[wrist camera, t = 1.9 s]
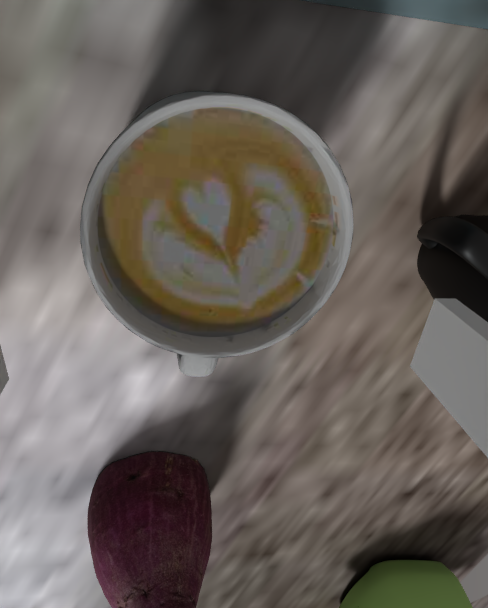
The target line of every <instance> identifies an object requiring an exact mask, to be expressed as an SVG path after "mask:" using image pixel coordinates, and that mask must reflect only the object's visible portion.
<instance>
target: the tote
mask: <svg viewBox="0 0 488 608" xmlns="http://www.w3.org/2000/svg"><path fill="white" fill-rule="evenodd" d="M301 1H308V2H314V3H321V4H327V5H334V6H340V7H347V8H353V9H360V10H366V11H373V12H379V13H386V14H392V15H399V16H405V17H412V18H418V19H425V20H431V21H438V22H444V23H451V24H457V25H464V26H470V27H477V28H483V29H488V0H301Z"/></svg>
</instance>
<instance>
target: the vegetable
mask: <svg viewBox="0 0 488 608" xmlns="http://www.w3.org/2000/svg"><path fill="white" fill-rule="evenodd" d="M211 516H212V513H211V499H210V490H209V485H208V480H207V476H206V473H205V471H204V468H203V467H202V466H201V465H200V463H199V462H198V460H196V459H192V457H188V456H185V455H181V454H174V453H168V452H160V451H159V452H154V451H151V452H146V453H142V454H138V455H134V456H130V457H128V458H125V459H121V460H119V461H116V462H113V463H112V464H110V465H109V466H107V467H106V468H105V469H104V470H103V471H102V473H101V474H100V475H99V477H98V479H97V480H96V482H95V485H94V487H93V490H92V494H91V497H90V502H89V508H88V538H89V542H90V547H91V555H92V558H93V564H94V569H95V573H96V576H97V579H98V581H99V583H100V586H101V588H102V590H103V593H104V595H105V597H106V599H107V600H108V602H109V604H110V605H111V607H112V608H196V605H197V601H198V597H199V593H200V589H201V586H202V581H203V578H204V574H205V570H206V567H207V564H208V560H209V556H210V549H211V542H212V519H211Z"/></svg>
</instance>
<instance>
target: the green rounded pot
mask: <svg viewBox="0 0 488 608" xmlns="http://www.w3.org/2000/svg"><path fill="white" fill-rule="evenodd" d="M339 608H472V605H471V603H470V601H469V599H468V597H467V595H466V593H465V591H464V589H463V587H462V586H461V584H460V582H459V580H458V579H457V578H456V576H455V575H454V574H453V573H452V572H451V571H450V570H449V569H448V568H447V567H446V566H445V565H444V564H442V563H441V562H438V561H427V560H388V561H383V562H381V563H377V564H375V565H373V566H372V567H371V568H370V569H369V571H368V572H367V573H366V574H365V575H364V576H363V577H362V578H361V579H360V580H359V581H358V582H357V583H356V584H355V585H354V586H353V587H352V588H351V590H350V591H349V592H348V594H347V595H346V597H345V598H344V600H343V601H342V603H341V605H340V607H339Z"/></svg>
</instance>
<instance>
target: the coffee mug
mask: <svg viewBox="0 0 488 608" xmlns="http://www.w3.org/2000/svg"><path fill="white" fill-rule="evenodd" d="M352 238H353V209H352V200H351V196H350V192H349V187H348V184H347V181H346V179H345V176H344V174H343V171H342V169H341V166H340V164H339V163H338V161H337V160H336V158H335V157H334V155H333V153H332V152H331V150H330V148H329V147H328V145H327V144H326V143H325V142H324V141H323V140H322V139H321V137H320V136H319V135H318V134H317V133H316V132H315V131H314V130H313V129H312V128H311V127H310V126H308V125H307V124H306V123H305V122H304V121H302V120H301V119H299V118H298V117H296V116H295V115H293V114H292V113H290V112H289V111H287V110H285V109H283V108H281V107H279V106H277V105H275V104H272V103H270V102H267V101H264V100H261V99H258V98H254V97H250V96H246V95H241V94H232V93H220V92H204V91H193V92H184V93H179V94H175V95H172V96H169V97H167V98H164V99H162V100H160V101H158V102H156V103H154V104H153V105H151V106H150V107H148V108H147V109H146V110H145V111H143V112H142V113H141V114H140V115H139V116H138V117H137V118H136V119H135V120H134V121H133V122H132V123H131V124H130V125H129V126H128V127H127V128H126V129H125V130H124V131H123V132H122V133H121V134H120V135H119V136H118V137H117V138H116V139H115V140H114V141H113V143H112V144H111V145H110V146H109V148H108V149H107V150H106V152H105V153H104V155H103V156H102V158H101V159H100V161H99V162H98V164H97V166H96V168H95V170H94V172H93V175H92V177H91V179H90V181H89V184H88V187H87V190H86V194H85V198H84V201H83V205H82V212H81V224H80V239H81V247H82V253H83V258H84V264H85V266H86V269H87V272H88V275H89V277H90V279H91V282H92V284H93V286H94V288H95V290H96V292H97V294H98V295H99V297H100V298H101V300H102V301H103V303H104V304H105V306H106V307H107V309H108V310H109V311H110V312H111V313H112V314H113V315H114V316H115V317H116V318H117V320H119V321H120V322H121V323H122V324H123V325H124V326H125V327H126V328H127V329H128V330H130V331H131V332H133V333H134V334H136V335H137V336H139V337H140V338H142V339H143V340H145V341H146V342H148V343H150V344H153V345H155V346H157V347H159V348H162V349H165V350H168V351H171V352H174V353H177V358H178V365H179V369H180V371H181V372H182V373H183V374H185V375H188V376H194V377H204V376H208V375H209V374H211V373H212V372H213V371H214V369H215V367H216V364H217V361H218V358H224V357H233V356H239V355H244V354H248V353H252V352H256V351H258V350H261V349H264V348H266V347H269V346H271V345H273V344H275V343H277V342H279V341H281V340H283V339H285V338H286V337H288V336H290V335H291V334H293V333H294V332H296V331H297V330H299V329H300V328H301V327H302V326H303V325H305V324H306V323H307V322H308V321H309V320H310V319H311V318H312V317H313V316H314V315H315V314H316V313H317V312H318V311H319V310H320V309H321V307H322V306H323V305H324V304H325V303H326V301H327V300H328V299H329V297H330V296H331V294H332V293H333V291H334V290H335V288H336V286H337V284H338V282H339V280H340V278H341V276H342V274H343V272H344V269H345V267H346V263H347V260H348V256H349V253H350V248H351V243H352Z"/></svg>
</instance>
